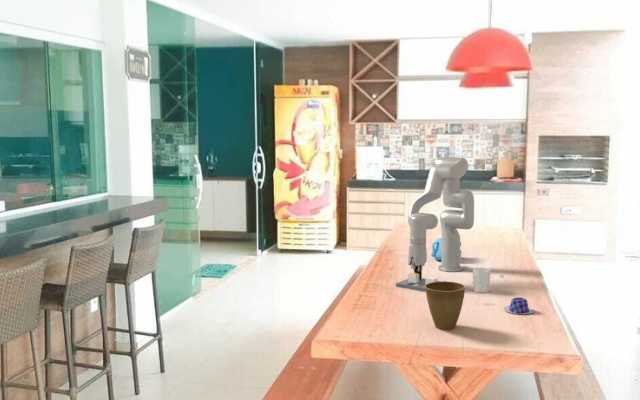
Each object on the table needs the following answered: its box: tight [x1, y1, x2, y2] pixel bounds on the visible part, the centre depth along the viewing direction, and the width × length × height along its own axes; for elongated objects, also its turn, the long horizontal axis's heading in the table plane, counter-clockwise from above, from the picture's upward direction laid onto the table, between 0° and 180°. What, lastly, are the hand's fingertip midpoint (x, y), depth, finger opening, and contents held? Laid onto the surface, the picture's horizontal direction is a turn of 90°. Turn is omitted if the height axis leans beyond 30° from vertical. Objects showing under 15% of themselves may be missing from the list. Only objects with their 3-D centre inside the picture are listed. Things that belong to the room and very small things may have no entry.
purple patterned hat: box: [503, 296, 535, 315], centre depth 260 cm, size 12×12×5 cm
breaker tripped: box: [407, 271, 419, 283], centre depth 301 cm, size 3×4×4 cm
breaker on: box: [425, 276, 438, 284], centre depth 292 cm, size 3×4×4 cm
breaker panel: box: [395, 277, 442, 293], centre depth 299 cm, size 16×24×2 cm, turn 50°
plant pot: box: [425, 281, 466, 331], centre depth 240 cm, size 15×15×16 cm
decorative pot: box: [430, 237, 462, 261], centre depth 357 cm, size 16×16×14 cm
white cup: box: [472, 267, 491, 294], centre depth 291 cm, size 8×8×10 cm
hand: (417, 279), depth 304 cm, fingers closed
